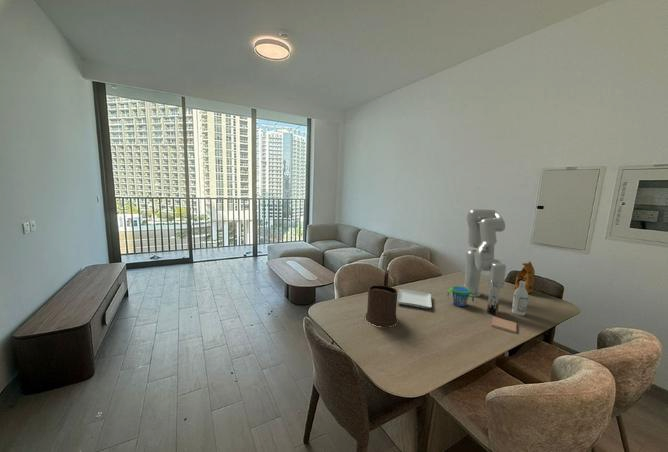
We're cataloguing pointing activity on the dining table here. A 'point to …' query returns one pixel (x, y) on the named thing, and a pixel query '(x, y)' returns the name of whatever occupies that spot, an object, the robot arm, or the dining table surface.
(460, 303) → the snack cup
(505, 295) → the dining table surface
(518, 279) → the orange cat figurine
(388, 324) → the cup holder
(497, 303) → the walnut cube
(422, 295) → the salad plate
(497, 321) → the terracotta tile
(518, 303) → the bath foam
